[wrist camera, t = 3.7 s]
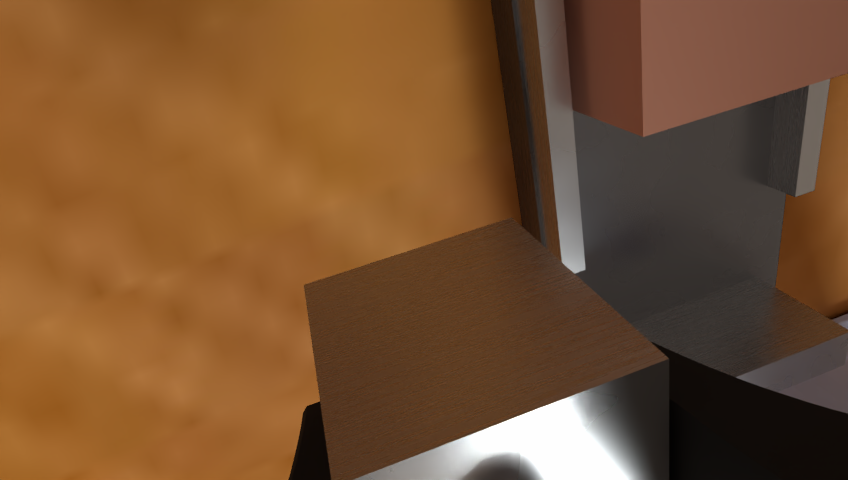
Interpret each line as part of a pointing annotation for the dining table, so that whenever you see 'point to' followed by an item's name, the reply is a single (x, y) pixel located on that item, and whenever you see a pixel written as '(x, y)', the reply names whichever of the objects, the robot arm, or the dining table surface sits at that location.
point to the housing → (483, 368)
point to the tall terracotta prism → (696, 56)
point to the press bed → (670, 209)
